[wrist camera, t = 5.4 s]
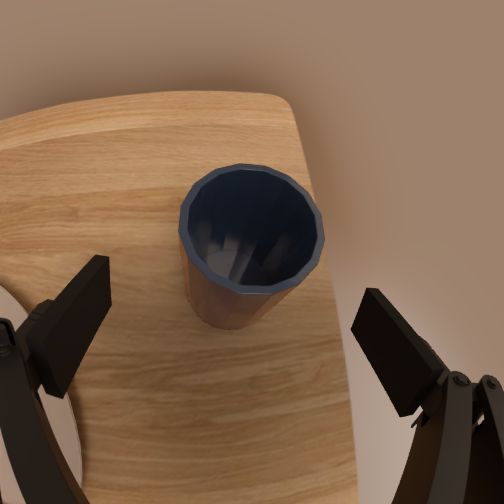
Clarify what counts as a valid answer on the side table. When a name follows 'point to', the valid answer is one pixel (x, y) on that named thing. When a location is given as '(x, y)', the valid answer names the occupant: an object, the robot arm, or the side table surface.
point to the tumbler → (246, 243)
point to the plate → (56, 411)
